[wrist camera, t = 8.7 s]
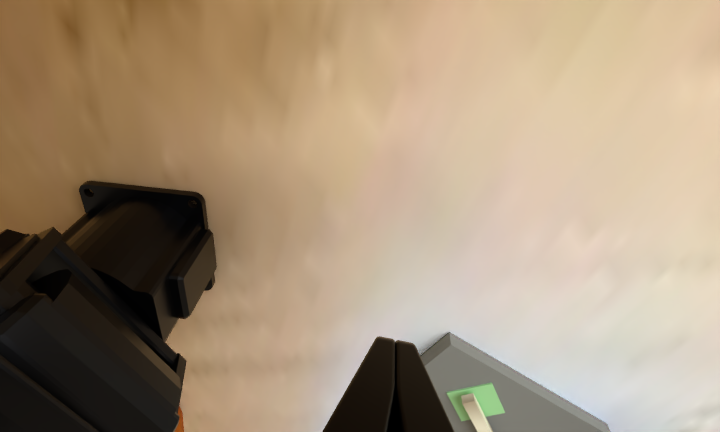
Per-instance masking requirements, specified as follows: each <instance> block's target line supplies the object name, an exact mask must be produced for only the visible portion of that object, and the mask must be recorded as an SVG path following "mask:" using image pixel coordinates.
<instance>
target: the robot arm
mask: <svg viewBox="0 0 720 432" xmlns="http://www.w3.org/2000/svg"><path fill="white" fill-rule="evenodd" d="M89 189H90V190H92V191H93V193H92V192H90V190H89ZM79 192H80V195H81V199H82V202H83V205H84V209H85V212H86V214H85V215H84V216H83V217H81V218H80V219H79V220H78V221H77V222H76V223H75V224H73V225H72V226H71V227H70V228H69V229H68V230H66V231H65V232H64V233H63V234H62V235H61V234H60V233H59V232H58V231H57V230H56V229H55V228H54V227H52V228H50V229H48V230H45V231H43V232H41V233H39V234H33V235H31V236H30V235H29V234H22V233H19V232H15V231H12V230H8V229H7V230H5V231H3V232H1V233H0V432H175V430H176V428H177V426H178V423H179V418H180V417H179V414H178V409H179V403H180V397H181V391H182V385H183V379H184V373H185V367H186V360H185V359H184V358H183V357H182V356H181V355H180V354H179V353H177V354H176V353H175V352H174V351H173V350H172V349H171V348H170V347H169V346H168V345H167V344H166V343H165V341H166V340H167V338H168V336H169V334H170V333H171V331H172V329H173V328H174V326H175V324H176V322H177V321H178V319H179V318H182V319H186V318H187V317H189V316H190V315H191V313H192V311H193V310H194V308H195V306H196V304H197V302H198V301H199V299H200V297H201V295H202V293H203V291H204V290H210V289H211V288H212V287H213V285H214V283H215V278H214V272H215V270H216V267H217V265H216V257H215V249H214V240H213V233H212V232H211V231H210V230H209V229H208V222H207V214H206V206H205V200H204V198H203V196H202V195H200V194H199V193H196V192H190V191H180V190H171V189H162V188H152V187H143V186H134V185H124V184H115V183H106V182H96V181H87V182H85V183H84V184H83V185H81V186H80V188H79ZM191 200H194V201H196V202H197V204H194V203H192V201H191ZM323 432H455V431H454V429H453V427H452V424H451V422H450V420H449V418H448V416H447V414H446V411H445V409H444V407H443V405H442V403H441V400H440V398H439V396H438V394H437V392H436V390H435V387H434V385H433V383H432V381H431V379H430V377H429V374H428V372H427V370H426V368H425V366H424V364H423V361H422V359H421V357H420V355H419V353H418V350H417V348H416V346H415V345H414V344H413V343H410V342H405V341H400V340H398V341H396V342H395V341H394V340H393V339H390V338H385V337H377V338H376V339H375V341H374V342H373V344H372V346H371V348H370V349H369V351H368V353H367V355H366V356H365V358H364V360H363V362H362V363H361V365H360V367H359V369H358V370H357V372H356V374H355V376H354V377H353V379H352V381H351V383H350V384H349V386H348V388H347V390H346V391H345V393H344V395H343V397H342V398H341V400H340V402H339V404H338V405H337V407H336V409H335V411H334V412H333V414H332V416H331V418H330V419H329V421H328V423H327V425H326V426H325V428H324V430H323Z"/></svg>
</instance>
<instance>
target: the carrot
mask: <svg viewBox="0 0 720 432" xmlns="http://www.w3.org/2000/svg"><path fill="white" fill-rule="evenodd" d="M178 414H179V417H180V418H179V423H178V426H177V428H176V430H175V432H184V426H183V414H182V411H181V408H180V406H179V409H178Z"/></svg>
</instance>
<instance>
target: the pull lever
mask: <svg viewBox="0 0 720 432" xmlns="http://www.w3.org/2000/svg"><path fill="white" fill-rule="evenodd" d="M461 398H462V404H463V406H464V408H465V410H466V412H467V413H468V415H469V417H470V419H471V421H472V423H473V424H474V426H475V428H476V430H477V432H493V430H492V428H491V426H490V424H489V423H488V421H487V419H486V417H485V415H484V413H483V411H482V409H481V407H480V405H479V403H478V401H477V399H476V397H475V395H474V394H473V393H471V394H466V395H462V396H461Z"/></svg>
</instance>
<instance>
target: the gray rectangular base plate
mask: <svg viewBox="0 0 720 432" xmlns="http://www.w3.org/2000/svg"><path fill="white" fill-rule="evenodd" d="M420 357H421V359H422V361H423V364H424V366H425V368H426V370H427V372H428V374H429V377H430V379H431V381H432V383H433V385H434V387H435V390H436V392H437V394H438V396H439V398H440V400H441V403H442V405H443V407H444V409H445V411H446V414H447V416H448V418H449V420H450V422H451V424H452V427H453V429H454V431H455V432H477V430H476V428H475V426H474V424H473V423H472V421H471V419H470V417H469V415H468V413H467V412H466V410H465V408H464V406H463V404H462V398H461V396H462V395H466V394H471V393H473V394H474V395H475V397H476V399H477V401H478V403H479V405H480V407H481V409H482V411H483V413H484V415H485V417H486V419H487V421H488V423H489V424H490V426H491V428H492V430H493V432H610V430H609V428H608V425H607V424H606V423H605V422H603V421H601V420H599V419H598V418H596V417H594V416H593V415H591V414H589V413H587V412H586V411H584V410H582V409H581V408H579V407H577V406H575V405H574V404H572V403H570V402H568V401H567V400H565V399H563V398H562V397H560V396H558V395H556V394H555V393H553V392H551V391H550V390H548V389H546V388H544V387H543V386H541V385H539V384H538V383H536V382H534V381H532V380H531V379H529V378H527V377H525V376H524V375H522V374H520V373H519V372H517V371H515V370H513V369H512V368H510V367H508V366H507V365H505V364H503V363H501V362H500V361H498V360H496V359H494V358H493V357H491V356H489V355H488V354H486V353H484V352H482V351H481V350H479V349H477V348H476V347H474V346H472V345H470V344H469V343H467V342H465V341H463V340H462V339H460V338H458V337H457V336H455V335H453V334H451V333H450V332H449V333H448V334H447V335H446V336H444V337H443V338H442V339H441V340H440V341H438V342H437V343H436V344H435V345H433V346H432V347H431V348H430V349H429V350H427V351H426V352H425V353H424V354H423V355H421V356H420Z"/></svg>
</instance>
